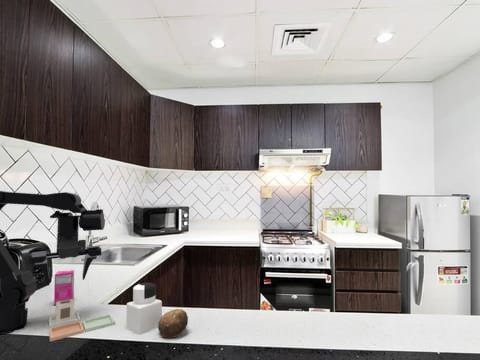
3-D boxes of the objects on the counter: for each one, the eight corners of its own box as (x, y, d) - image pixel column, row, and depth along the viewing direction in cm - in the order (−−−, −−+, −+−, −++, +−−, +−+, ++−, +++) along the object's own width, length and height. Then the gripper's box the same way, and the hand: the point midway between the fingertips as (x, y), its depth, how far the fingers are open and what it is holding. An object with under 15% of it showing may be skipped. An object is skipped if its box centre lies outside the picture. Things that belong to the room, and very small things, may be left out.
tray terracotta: (49, 343, 68) (49, 338, 68) (49, 332, 74) (49, 328, 74) (83, 334, 73) (83, 329, 73) (80, 325, 79) (80, 320, 79)
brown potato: (182, 311, 78) (176, 298, 75) (197, 329, 72) (191, 316, 69) (158, 331, 74) (150, 318, 71) (171, 352, 68) (164, 339, 65)
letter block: (55, 325, 78) (56, 305, 79) (55, 320, 82) (56, 301, 83) (73, 321, 81) (74, 302, 81) (72, 316, 85) (73, 298, 85)
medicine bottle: (148, 320, 80) (148, 279, 82) (162, 326, 76) (162, 283, 77) (125, 329, 75) (126, 285, 76) (139, 336, 70) (139, 289, 72)
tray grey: (49, 330, 76) (49, 325, 76) (49, 321, 82) (49, 317, 82) (80, 322, 81) (80, 318, 81) (77, 315, 87) (77, 311, 87)
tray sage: (85, 333, 73) (85, 329, 73) (82, 324, 79) (82, 320, 79) (115, 325, 77) (115, 321, 77) (110, 318, 83) (110, 314, 83)
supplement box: (56, 301, 102) (57, 271, 103) (74, 299, 104) (75, 269, 105) (53, 306, 96) (54, 273, 98) (72, 303, 99) (73, 271, 100)
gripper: (29, 235, 73) (26, 294, 71) (104, 230, 84) (104, 281, 82) (31, 234, 82) (28, 286, 80) (99, 229, 93) (98, 275, 91)
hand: (66, 282), depth 83 cm, fingers open, 9 cm apart
